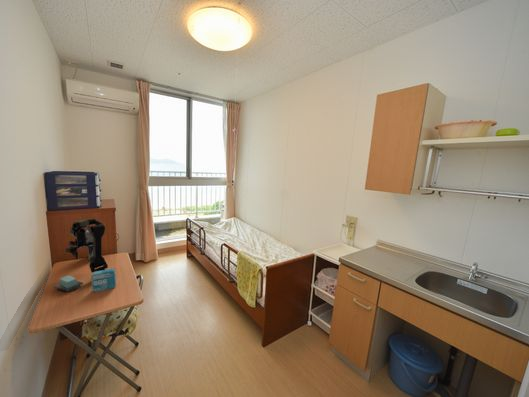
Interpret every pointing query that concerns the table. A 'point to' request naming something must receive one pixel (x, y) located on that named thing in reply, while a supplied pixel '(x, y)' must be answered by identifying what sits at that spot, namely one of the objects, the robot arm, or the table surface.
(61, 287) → the stand
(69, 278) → the housing
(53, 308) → the table surface
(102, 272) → the data package
